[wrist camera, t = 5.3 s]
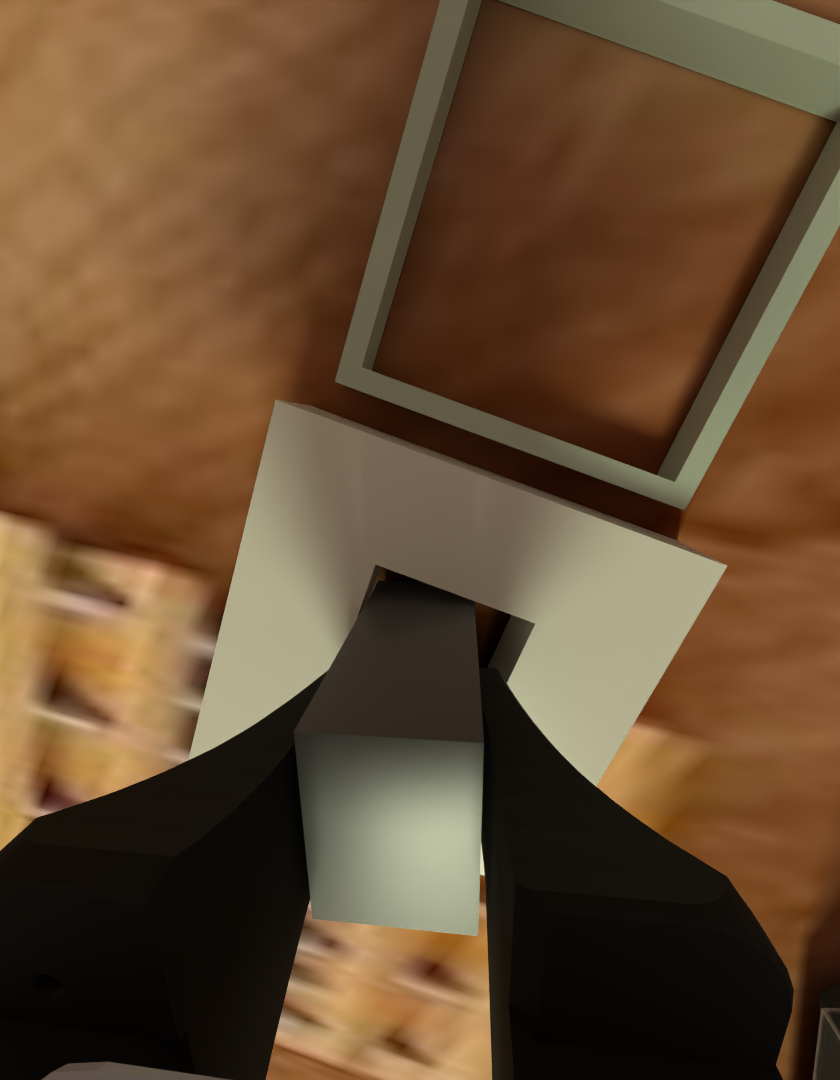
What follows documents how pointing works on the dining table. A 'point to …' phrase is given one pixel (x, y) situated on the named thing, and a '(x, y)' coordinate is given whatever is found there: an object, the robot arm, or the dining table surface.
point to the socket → (446, 582)
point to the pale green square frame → (823, 205)
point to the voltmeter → (828, 1036)
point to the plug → (397, 767)
